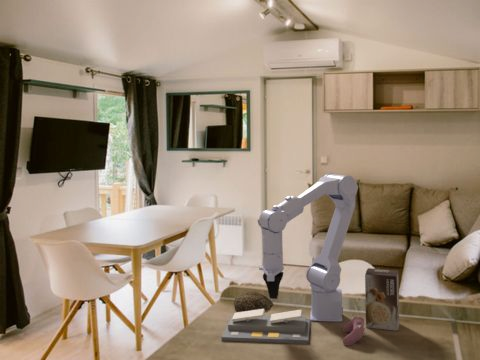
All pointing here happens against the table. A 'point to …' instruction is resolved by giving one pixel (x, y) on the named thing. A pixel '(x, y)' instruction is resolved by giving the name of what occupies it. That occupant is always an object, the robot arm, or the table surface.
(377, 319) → the coffee box
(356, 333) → the pink curved piece
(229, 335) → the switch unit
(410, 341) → the table surface
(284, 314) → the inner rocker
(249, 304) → the bread roll
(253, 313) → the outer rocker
